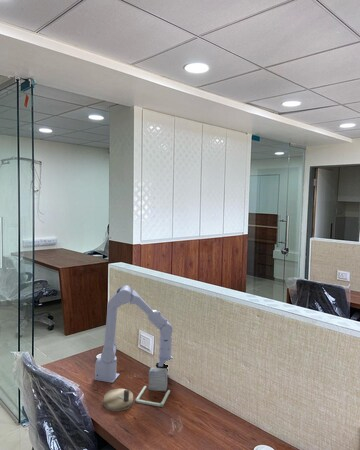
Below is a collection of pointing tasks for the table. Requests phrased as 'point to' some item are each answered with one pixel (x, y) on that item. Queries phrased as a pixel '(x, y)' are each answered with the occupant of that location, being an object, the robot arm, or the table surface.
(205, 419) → the table surface
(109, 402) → the disc
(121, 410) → the base plate
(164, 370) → the medicine box
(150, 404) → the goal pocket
